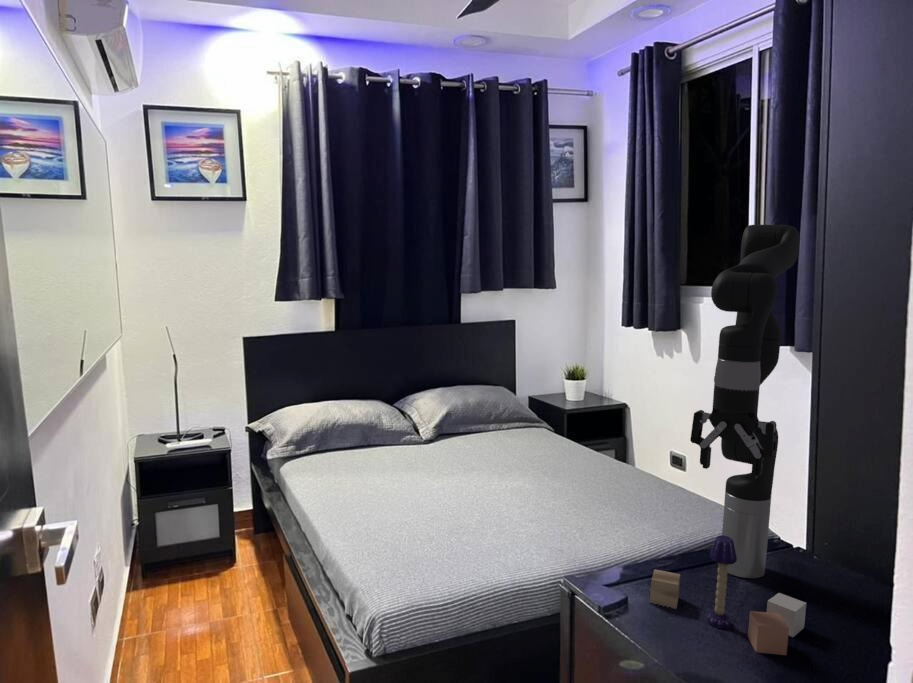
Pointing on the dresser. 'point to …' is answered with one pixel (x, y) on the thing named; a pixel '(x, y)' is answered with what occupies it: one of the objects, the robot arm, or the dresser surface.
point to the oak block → (665, 588)
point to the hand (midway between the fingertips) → (729, 472)
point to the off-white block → (788, 611)
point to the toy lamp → (721, 579)
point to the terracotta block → (768, 633)
